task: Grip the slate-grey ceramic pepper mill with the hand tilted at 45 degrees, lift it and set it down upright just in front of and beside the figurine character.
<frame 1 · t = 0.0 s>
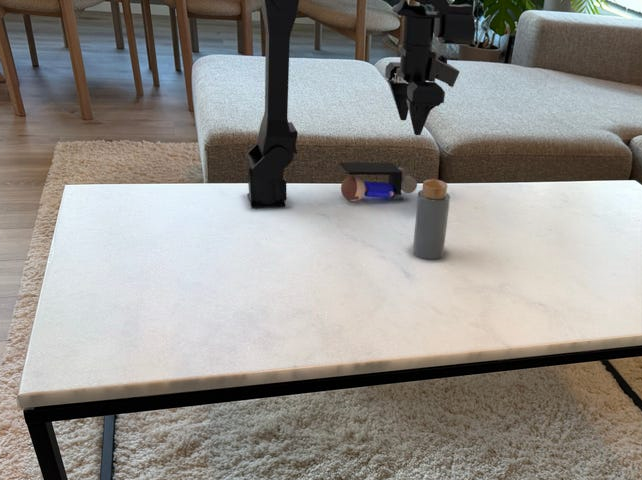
hand: (410, 127, 136), 15 cm above the table, tool pointing down, fingers open, 9 cm apart
pepper mill: (428, 252, 125), on the table
figurine character: (376, 199, 143), on the table
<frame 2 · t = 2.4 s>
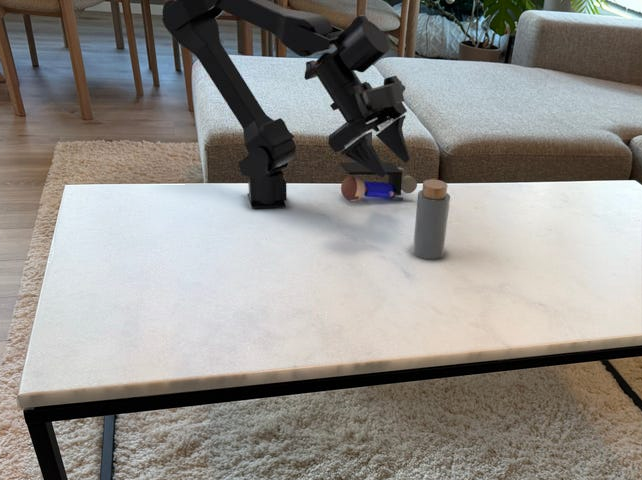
hand: (396, 168, 120), 13 cm above the table, tool tilted 45°, fingers open, 9 cm apart
nothing on the table moved.
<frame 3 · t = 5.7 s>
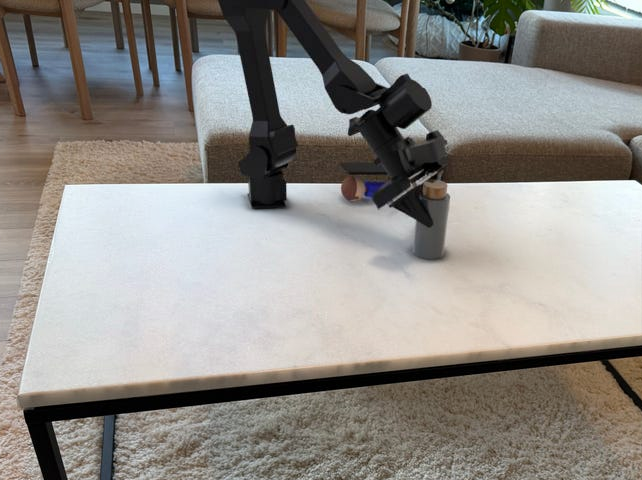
hand: (438, 220, 121), 7 cm above the table, tool tilted 45°, fingers closed on pepper mill, 5 cm apart
pepper mill: (428, 252, 125), on the table, touching gripper
everything else where it was.
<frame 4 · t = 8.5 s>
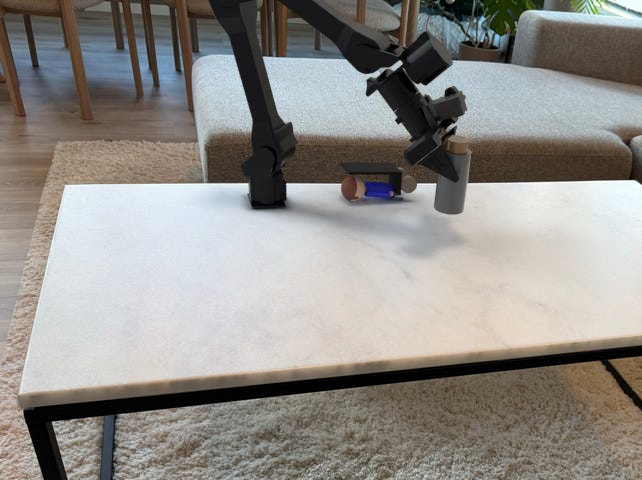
hand: (460, 175, 124), 12 cm above the table, tool tilted 45°, fingers closed on pepper mill, 5 cm apart
pepper mill: (448, 208, 128), point 6 cm above the table, touching gripper
everything else where it was.
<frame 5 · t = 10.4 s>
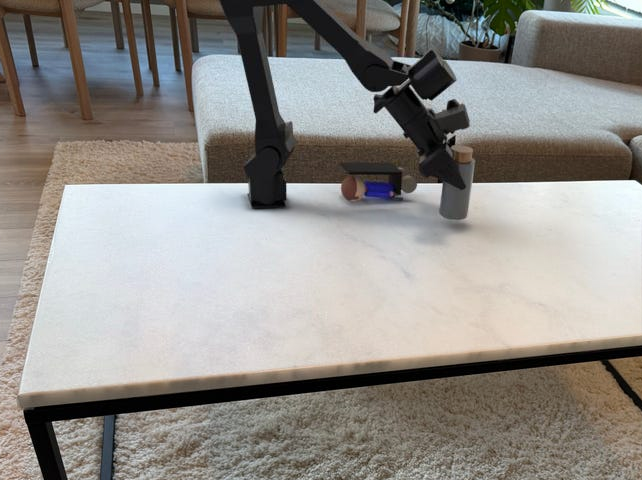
hand: (464, 182, 131), 9 cm above the table, tool tilted 45°, fingers closed on pepper mill, 5 cm apart
pepper mill: (453, 214, 135), point 2 cm above the table, touching gripper
everything else where it was.
when the fingers open (7 cm above the table, at t = 11.5 s): pepper mill stays where it is, on the table.
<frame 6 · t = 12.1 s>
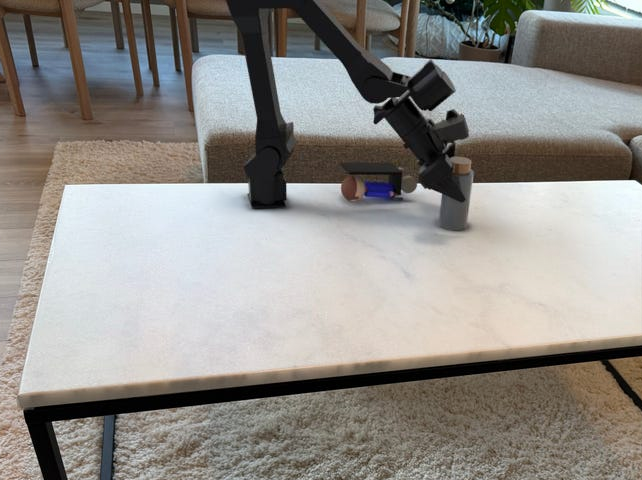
hand: (464, 192, 132), 7 cm above the table, tool tilted 45°, fingers open, 9 cm apart
pepper mill: (452, 224, 136), on the table
everything else where it was.
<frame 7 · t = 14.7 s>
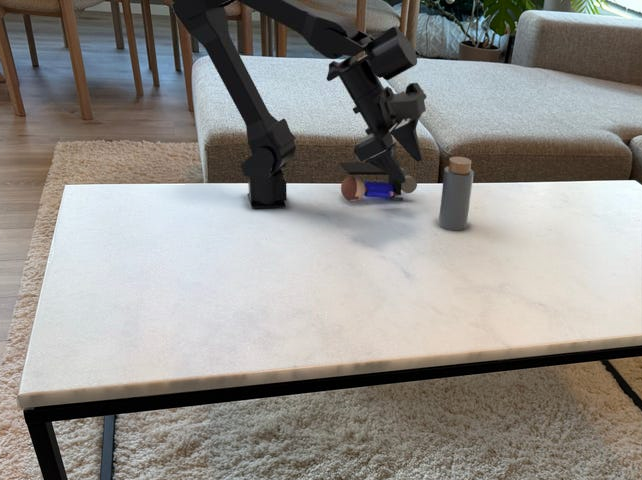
hand: (412, 171, 126), 11 cm above the table, tool tilted 35°, fingers open, 9 cm apart
nothing on the table moved.
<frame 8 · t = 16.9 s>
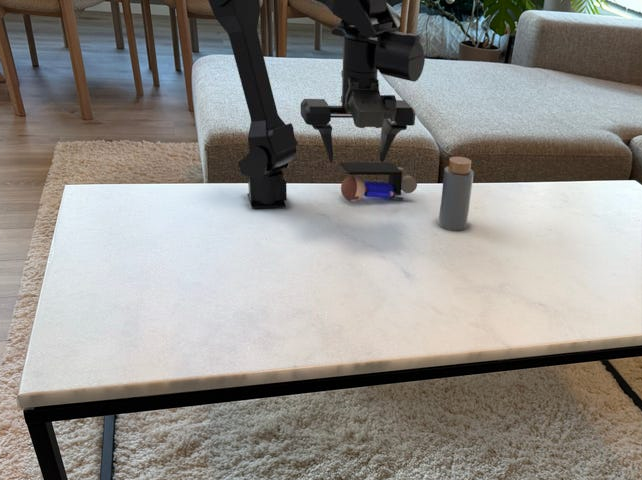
hand: (356, 161, 122), 13 cm above the table, tool pointing down, fingers open, 9 cm apart
nothing on the table moved.
at the end: pepper mill inside the target area on the table beside the figurine character (0.3 cm from its centre), on the table; pepper mill tilted 0°; the gripper is holding nothing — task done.
